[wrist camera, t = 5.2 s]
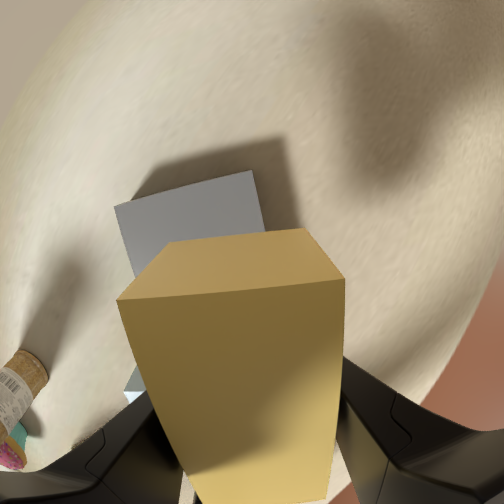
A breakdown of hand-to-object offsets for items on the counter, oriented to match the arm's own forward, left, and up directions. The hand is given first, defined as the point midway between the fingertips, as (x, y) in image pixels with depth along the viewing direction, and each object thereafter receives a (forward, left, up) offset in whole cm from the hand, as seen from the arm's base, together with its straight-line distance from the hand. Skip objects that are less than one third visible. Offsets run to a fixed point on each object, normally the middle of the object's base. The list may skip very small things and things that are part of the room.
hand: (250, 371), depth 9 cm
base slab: (+2, +3, -12) cm, 12 cm away
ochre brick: (0, 0, -1) cm, 1 cm away
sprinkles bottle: (-6, +24, -11) cm, 27 cm away
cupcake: (-16, +37, -11) cm, 42 cm away
